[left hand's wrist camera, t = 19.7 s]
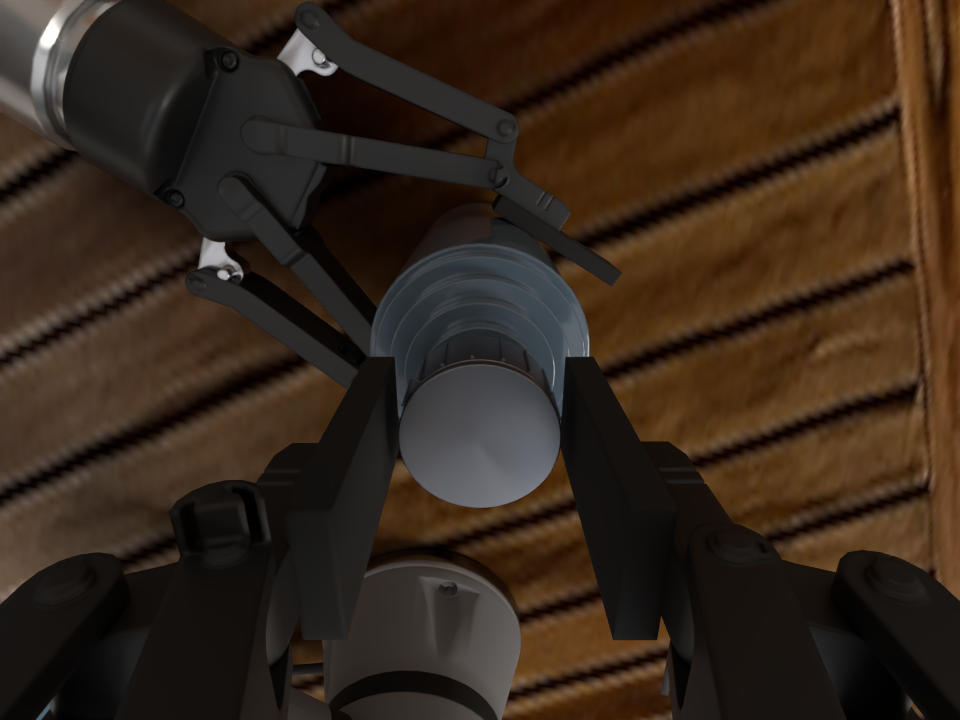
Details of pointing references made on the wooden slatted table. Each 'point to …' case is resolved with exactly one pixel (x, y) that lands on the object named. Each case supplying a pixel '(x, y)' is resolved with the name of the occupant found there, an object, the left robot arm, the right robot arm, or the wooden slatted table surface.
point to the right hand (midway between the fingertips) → (561, 341)
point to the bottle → (479, 297)
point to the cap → (479, 423)
